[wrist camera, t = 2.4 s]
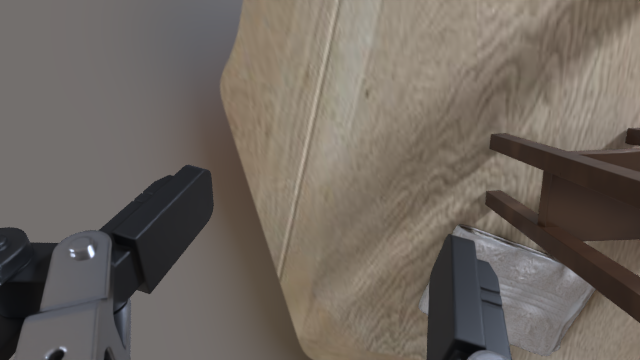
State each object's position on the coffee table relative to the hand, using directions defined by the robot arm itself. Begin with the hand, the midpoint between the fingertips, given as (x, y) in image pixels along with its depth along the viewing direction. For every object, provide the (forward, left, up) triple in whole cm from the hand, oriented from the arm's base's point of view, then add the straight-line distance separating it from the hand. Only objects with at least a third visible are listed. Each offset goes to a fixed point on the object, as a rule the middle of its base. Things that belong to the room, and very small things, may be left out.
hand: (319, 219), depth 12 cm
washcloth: (+20, +20, -28) cm, 40 cm away
